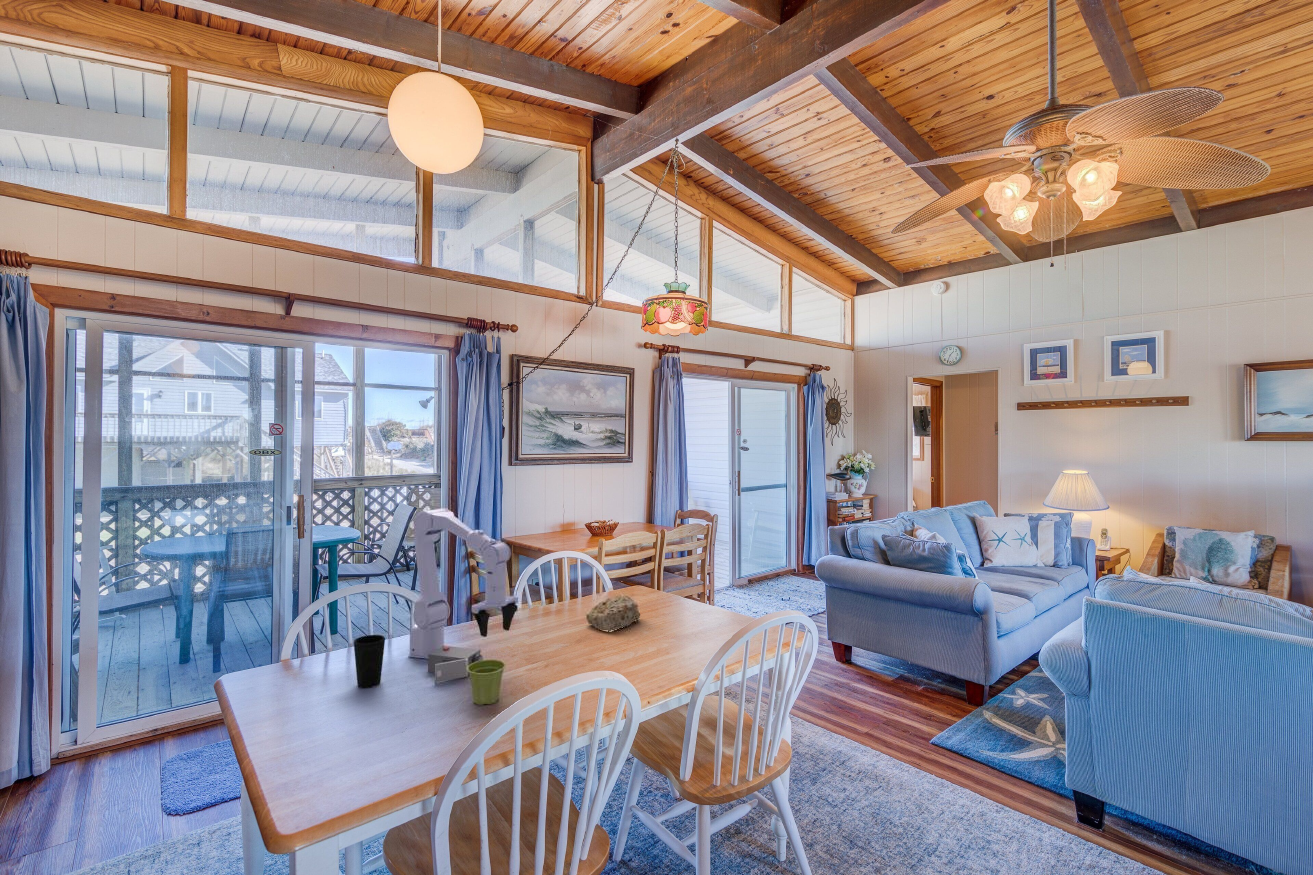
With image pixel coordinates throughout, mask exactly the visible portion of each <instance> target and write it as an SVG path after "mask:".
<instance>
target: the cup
mask: <svg viewBox="0 0 1313 875" xmlns="http://www.w3.org/2000/svg"><path fill="white" fill-rule="evenodd" d="M385 641H386V637H385V636H384V635H381V634H368V635H367V634H366V635H363V636H359V637H357V638H355V639H354V640H353V650H354V659H355V661H354V662H355V673H356V674H355V675H356V681H357V682H356V683H357V688H359V689H371V688H375V687H378V686H379V685H380V684H381V682H382V681H381V680H382V671H383V670H382V669H383V662H384V654H385V653H384V652H385V643H386V642H385Z"/></svg>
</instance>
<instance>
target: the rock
mask: <svg viewBox="0 0 1313 875" xmlns="http://www.w3.org/2000/svg"><path fill="white" fill-rule="evenodd" d="M638 607H639V605H638V603H637V602H636V601H635V600H634V599H632V598H631V597H630V596H628V595H622V594H619V595H617V596H614V597H612V598H607V599H606V600H605V601H601V602H598V604H596V605H594V606H593V607H591V609H590V611H589V612H588V613H585V616H586V621H587V623H588V625H592V626H593V627H594V628H595V629H597V628H598V629H597V630H599V629H601V630H608V631H611V630H615V629H618V628H622V627H624V628H625V626H627V627H629V626H630V624H631V623H632V622H633V623H634V622H638V621H639V620H640V618H641V613H640V612H639V608H638ZM638 619H639V620H638ZM635 620H636V621H635ZM637 620H638V621H637ZM633 623H632V624H633ZM632 624H631V625H632ZM628 625H629V626H628Z"/></svg>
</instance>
